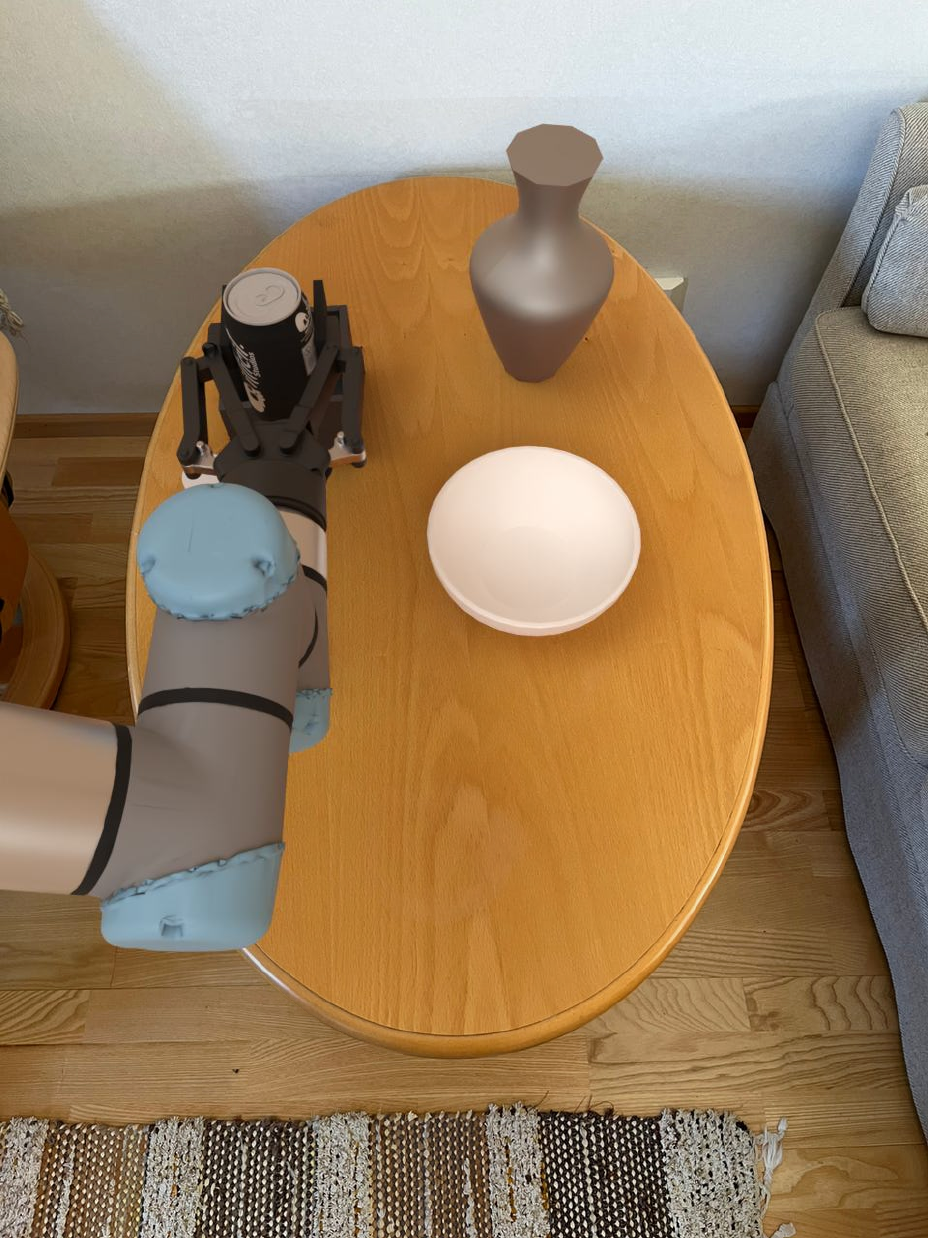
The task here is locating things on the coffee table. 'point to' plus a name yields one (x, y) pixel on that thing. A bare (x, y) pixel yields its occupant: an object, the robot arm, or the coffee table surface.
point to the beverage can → (270, 339)
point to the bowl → (533, 540)
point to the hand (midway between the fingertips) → (275, 295)
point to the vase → (543, 256)
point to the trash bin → (333, 412)
